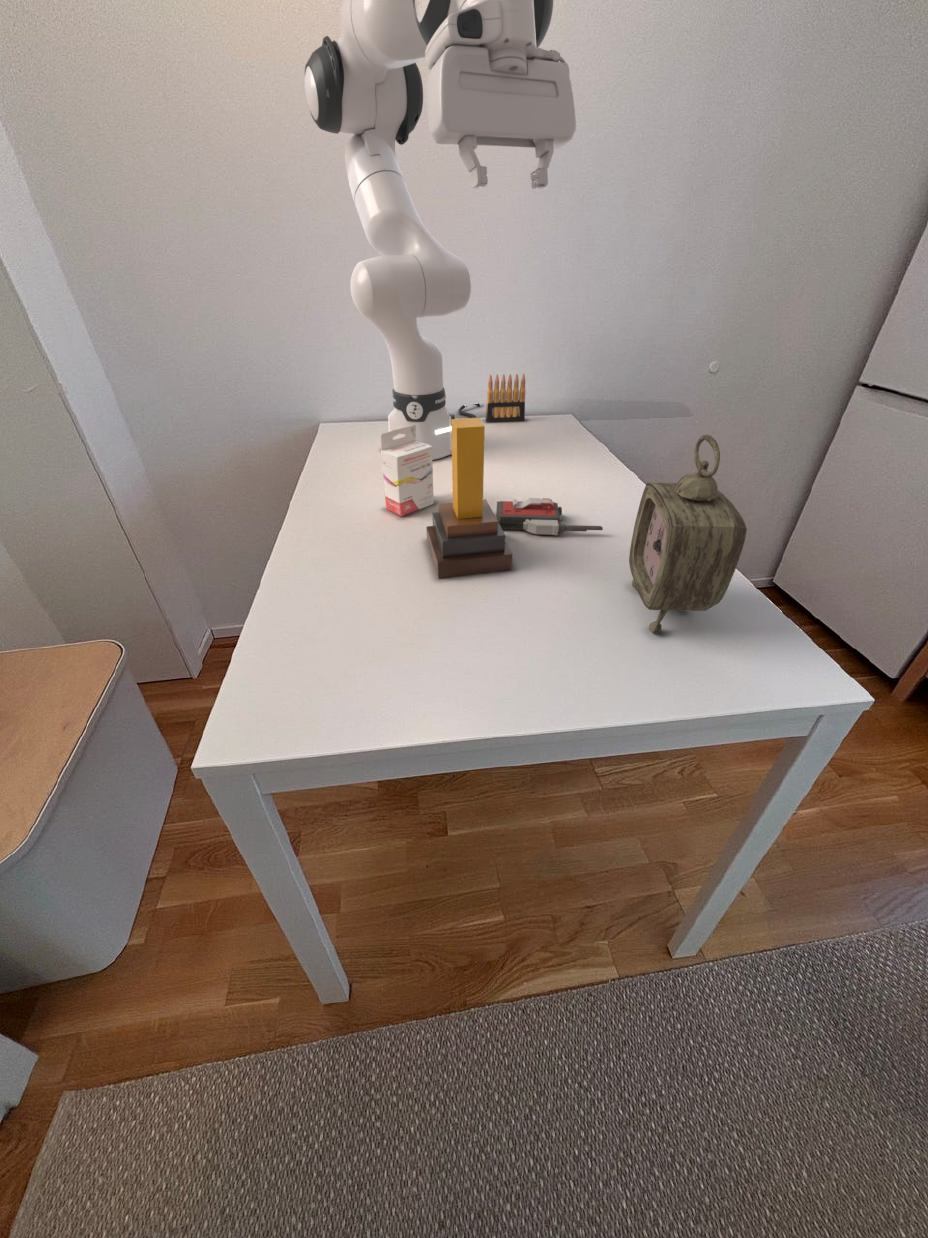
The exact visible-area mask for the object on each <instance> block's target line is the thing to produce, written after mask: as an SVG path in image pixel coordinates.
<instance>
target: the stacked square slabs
mask: <svg viewBox="0 0 928 1238" xmlns="http://www.w3.org/2000/svg"><path fill="white" fill-rule="evenodd" d="M431 514H432V515H431V517H432V518H431V519H432V525H427V526H426V528H425V531H426V542H427V546H428V549H429V552H430V557H431V559H432V562H433V566H434V570H435V573H436V576H437V579H448V578H456V577H465V576H475V575H483V574H491V573H499V572H508V571H512V565H513V553H512V551H511V549H510V548H509V546H508V544H507V542H506V534H505V532H504V529H502V528H501V526H500V525H499V523H498V520H497V518H496V514H495V513H494V511H493V509H492V508H491V506H490V503H489V502H488V500H487V499H486V498H483V516H482V517H473V518H463V519H458V518H457V516H456V514H455V511H454V509H453V501H451V502H444V503H438V511H437V512H436V511H435V512H432V513H431Z"/></svg>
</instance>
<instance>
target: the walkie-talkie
mask: <svg viewBox="0 0 928 1238" xmlns="http://www.w3.org/2000/svg"><path fill="white" fill-rule="evenodd" d="M558 504H559V503H558V502H554V501H553V500H552V498H548V497H547V498H546V497H545V498H544V497H542V498H539V497H529V498H527V499H526V500H525V499H524V501H518V500H517V499H515V498H514V499H512V501H510V500H499V501H496V513H495V517H496V518H497V520H498V523H499V525H500V526H501V528H502V530H512V531H513V530H514V531H515V530H516V531H520V530H521V531H525V532H528V533H530V534H533V535H548V536H549V535H551V536H558V535H559V532H562V533H564V532H587V531H603V530H604V528H603V526H602V525H577V524H576V525H575V524H574V525H573V524H565V523H563V522H560V521H561V520H563V515H562V514H563V508H562V507H561V506H559V505H558Z"/></svg>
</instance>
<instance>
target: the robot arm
mask: <svg viewBox="0 0 928 1238" xmlns="http://www.w3.org/2000/svg"><path fill="white" fill-rule="evenodd" d="M553 9H554V0H341V3H340V10H339V11H340V13H339V15H340V16H339V18H340V19H339V20H340V35H339V38H338V39H336V40H332V39H331V38H330V36H329V35H326V36H324V37H323V39H322V44H321V46H319V47H318V48H316V49H315V50H313V52H312V53H311V55H310V56H309V58H308V60H307V62H306V63H305V67H304V81H303V83H304V85H303V87H304V94H305V95H304V96H305V99H306V103H307V106H308V109H309V112H310V116H311V118H312V120H313V121H314V123H315V125H316V126H317V127H318V128H319V130H322V131H325V132H328V133H331V134H336V135H337V134H339V133H343V134H352V136H351V138H350V139H349V140H348V142H347V143H346V146H345V149H344V166H345V171H346V176H347V177H346V178H347V181H348V185H349V190H350V193H351V196H352V201H353V203H354V206H355V208H356V211H357V212H356V213H357V215H358V217H359V220H360V223H361V226H362V228H363V232H364V235H365V237H366V239H367V242H368V243H369V244H370V246H371V247H372V248H373V249H374V250H375V251H376V252H377V253H378V254H380V255H377V256H373V257H370V258H367V259H364V260H361V261H358V262H357V264H356V265H355V266H354V267H353V271H352V273H351V277H350V281H349V282H350V285H349V288H350V295H351V299H352V303H353V305H354V306H355V308H356V310H357V311H358V312H359V314H360V315H362V317H363V318H365V319H366V320H367V321H369V322H370V323H371V324H372V325H373V327H375V328H376V329H377V330H378V332H379V334H380V335H381V336H382V338H383V340H384V342H385V344H386V347H387V351H388V354H389V359H390V364H391V373H392V381H393V382H392V383H393V389H392V392H391V393H392V394H391V398H392V399H391V400H392V406H393V407H394V408H393V409H392V411H390V413H389V414H388V416H387V421H388V422H387V423H388V424H387V425H388V432H389V431H392V430H396V429H400V428H403V427H407V426H411V425H415V426H416V440H417V441H420V442H422V443H425V444H428V445H430V446H432V461H434V460H440V459H442V458H446V457H447V456H450V455H451V456H452V421H451V420H452V419H456V417H455V414H453V413H452V414H451V413H450V412H449V410H448V408H447V406H446V404H447V403H446V401H447V400H446V399H447V398H446V397H447V396H446V395H447V394H446V389H445V388H444V379H443V378H444V377H443V376H444V375H443V373H444V372H443V354H442V352H441V349H440V348H439V346H438V345H437V344H436V343H435V342H434V341H433V340H431V339H430V338H428V337H426V336H423V335H422V334H421V333H420V330H419V327H418V319H425V318H428V319H429V318H438V317H445V316H449V315H452V314H454V313H457V312H460V311H461V310H463V309H465V308H466V307H467V305H468V303H469V301H470V298H471V297H472V296H471V295H472V292H473V291H472V290H473V281H472V275H471V272H470V269H469V266H468V265H467V263H466V262H465V260H464V259H463V258H462V257H459V256H457V255H456V254H455V253H452V252H451V251H450V250H448V249H447V248H446V247H444V246H443V244H441V243H440V241H438V240H437V239H436V238H435V237H434V235H432V233H431V232H430V231H429V230H428V228H427V227H426V226H425V224H424V223H423V221H422V219H421V218H420V215H419V213H418V211H417V209H416V207H415V204H414V201H413V199H412V196H411V194H410V191H409V189H408V185H407V183H406V182H407V181H406V180H405V177H404V175H403V172H402V169H401V167H400V164H399V162H398V159H397V158H398V157H397V155H396V143H397V144H398V145H400V146H403V145H404V144H405V143H407V142H408V141H409V136H410V134H411V133H412V132H413V131H414V130H415V128H416V127H417V124H418V123H419V121H420V118H421V116H422V113H423V108H424V107H423V106H424V87H423V80H422V75H421V72H420V69H419V67H418V64H417V63H419V62H421V61H424V60H425V63H426V67H427V68H428V70H430V71H429V72H428V73H427V76H426V80H425V102H426V103H425V106H426V115H427V124H428V131H429V134H430V135H431V137H432V138H433V140H434V142H435V143H436V144H439V145H454V146H455V145H458V153H459V157H460V159H461V160H462V163H463V165H464V166H465V168H466V169H467V171H468V173H469V178H470V187H471V188H472V189H484V188H485V187H487V186H488V181H489V180H488V179H489V178H488V176H487V175H488V170H487V169H488V167H487V166H483V165H482V164H481V163H480V161H479V159H478V156H477V154H476V151H475V150H476V149H477V148H478V147H480V146H481V147H499V148H500V147H501V148H522V149H523V148H524V149H534V151H535V152H534V153H535V158H536V159H538V162H537V165H536V169H535V170H533V171H532V172H530V180H531V183H530V184H531V189H533V190H534V189H536V190H542V189H544V188H546V187H547V186H548V184H549V175H548V174H549V173H548V169H549V167H550V164H551V161H552V158H553V155H554V153H555V150H558V149H560V148H562V147H564V146H565V145H566V144H568V143H569V142H571V140H572V139H573V137H574V135H575V133H576V129H577V121H576V109H575V108H576V107H575V100H574V93H573V85H572V81H571V77H570V67H569V64H568V63H567V62H566V60H565V59H564V58H563V57H562V56H561V53H560V51H559V50H555V49H550V50H548V49H544V48H541V47H540V46H541V44H542V43H543V41H544V39H545V37H546V35H547V33H548V31H549V28H550V24H551V21H552V16H553V11H554V10H553ZM474 405H475V406H477V407H481V405H480V402H478V404H474ZM467 407H468V406H466V407H465V406H464V404H463V405H461V406H460V407H459V409H458V411H457V412H458V413H459V414H460V415H462V416H466V417H468V418H477V416H476V414H473V413H471V412H466V411H463V410H464V409H465V408H467ZM404 436H405V434H400V433H399V434H398V435H397V436H394V437H393V440H395V439H398V438H402V437H404Z"/></svg>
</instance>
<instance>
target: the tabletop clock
mask: <svg viewBox="0 0 928 1238" xmlns="http://www.w3.org/2000/svg"><path fill="white" fill-rule="evenodd" d="M704 441H706V442H707V443H708V444H709V445H710V446H711V448H712V451H713V456H714V464H713V465H714V466H713V469H712V471H709V470H708V468H709V464H710V463H709V461H707V460H701V458H700V455H699V451H700V446H701V444H702V443H703V442H704ZM693 460H694V465H695V467H696V469H697V471H696V472H690V473H688V474H685V475H684V476H682V477H681V478H680V479H679V480H678V481H677V482H647V483H646V484H645V486H644V489H643V493H642V495H641V498H640V503H639V506H638V509H637V513H636V518H635V521H634V527H633V532H632V536H631V543H630V548H629V556H628V558H629V559H628V562H629V569H630V573H631V577H632V580H631V586H632V587H633V588H634V589H636V591H637V593H638V595H639V597H640V599H641V601H642V603H643V605H644V607H645V608H646V609H648V610H650V611H659V612H658V615H657V618H656V621H652V622H650V624H649V627H648V629H649V631H650V632H651V633H652V634H658V633H660V632H661V631H662V628H663V627H662V624H661V622H662V621H663V620H664V618H665V616H666V614H667V613H668V612H669V611H677V612H678V611H687V612H688V611H690V612H691V611H693V612H694V611H695V612H706V611H708V610H709V609H711V608H713V607H715V606H716V605H718V604H720V603H721V601H722V600H723V599H724V597H725V595H726V593H727V591H728V588H729V586H730V583H731V582H732V579H733V576H734V574H735V573H736V569H737V566H738V564H739V560H740V557H741V554H742V551H743V548H744V545H745V541H746V536H747V530H748V529H747V526H746V521H745V520H744V517H743V516H742V515H741V513H740V512H739V511H738V509H737V508H736V506H735V505H734V504H733V502H732V501H731V500H730V499H729V498H728V497H727V496H725V494H724V493H723V492H721V491H720V490H719V489H718V488H719V487H718V484H717V483H718V482H717V481H716V480H715V478H714V476H715V475H716V473H717V472H718V469H719V465H720V462H721V450H720V447H719V443H718V442H717V440H716V439H715V438H714V437H713V436H712V435H710V434H703V435H701V436H700V437H699V438H698V440H697V441H696V444H695V446H694V459H693Z"/></svg>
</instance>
